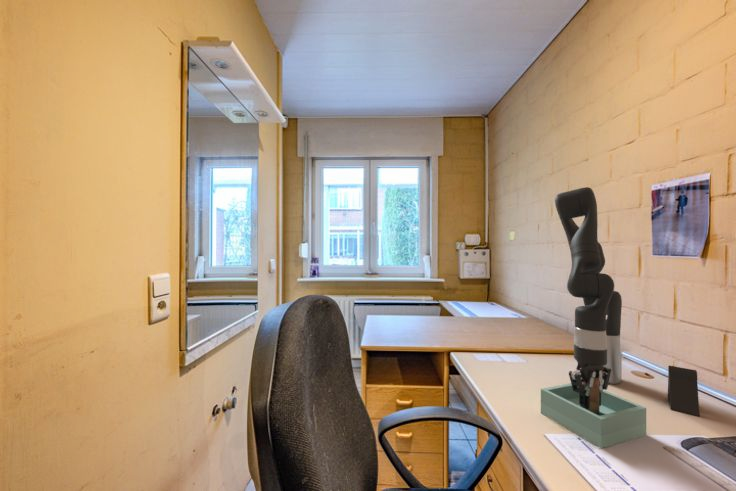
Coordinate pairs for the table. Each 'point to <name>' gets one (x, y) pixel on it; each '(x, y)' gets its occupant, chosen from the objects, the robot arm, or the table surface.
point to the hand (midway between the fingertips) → (590, 406)
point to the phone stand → (683, 390)
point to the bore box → (594, 416)
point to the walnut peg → (594, 396)
